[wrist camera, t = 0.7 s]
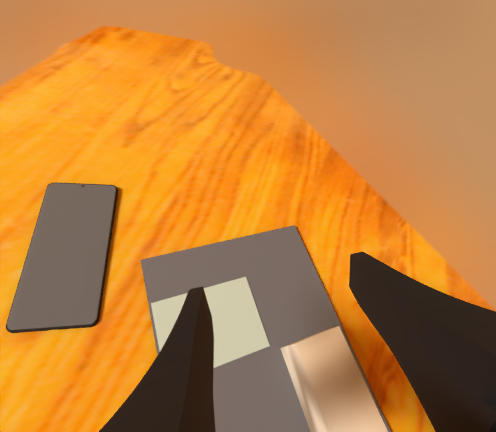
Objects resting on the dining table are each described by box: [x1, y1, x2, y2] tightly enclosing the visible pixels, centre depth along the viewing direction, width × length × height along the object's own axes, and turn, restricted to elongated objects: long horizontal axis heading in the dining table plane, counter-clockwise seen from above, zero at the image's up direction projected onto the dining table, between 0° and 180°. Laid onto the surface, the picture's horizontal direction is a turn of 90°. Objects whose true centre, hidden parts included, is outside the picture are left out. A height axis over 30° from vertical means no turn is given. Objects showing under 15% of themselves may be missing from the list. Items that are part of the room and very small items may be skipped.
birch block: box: [281, 326, 388, 432], centre depth 23 cm, size 8×4×4 cm, turn 20°
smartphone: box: [6, 183, 118, 333], centre depth 27 cm, size 7×1×15 cm
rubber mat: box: [141, 225, 391, 432], centre depth 25 cm, size 26×18×1 cm
